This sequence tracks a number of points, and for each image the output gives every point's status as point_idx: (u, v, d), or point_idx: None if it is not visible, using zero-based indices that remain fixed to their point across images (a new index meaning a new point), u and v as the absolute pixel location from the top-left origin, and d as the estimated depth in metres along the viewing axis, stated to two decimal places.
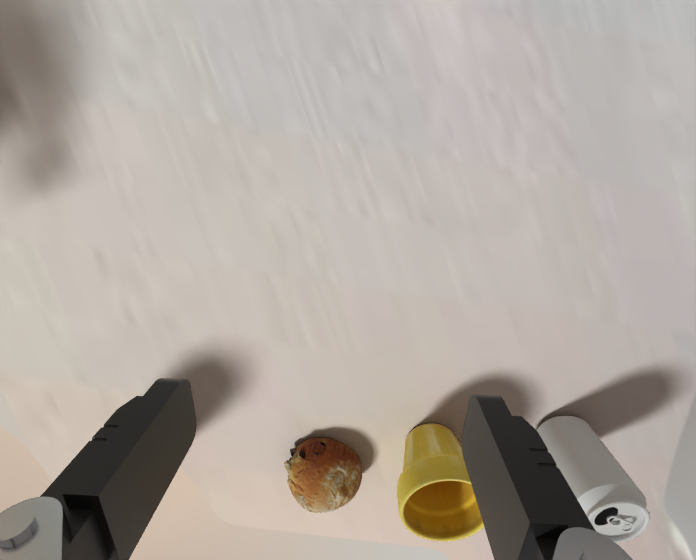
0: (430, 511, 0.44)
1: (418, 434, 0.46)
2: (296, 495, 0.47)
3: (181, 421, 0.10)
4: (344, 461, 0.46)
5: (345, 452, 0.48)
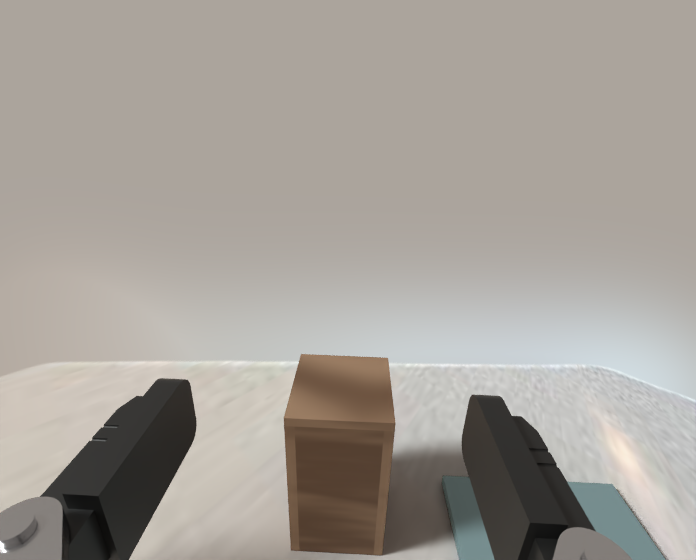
0: None
1: None
2: None
3: (181, 420, 0.10)
4: None
5: None
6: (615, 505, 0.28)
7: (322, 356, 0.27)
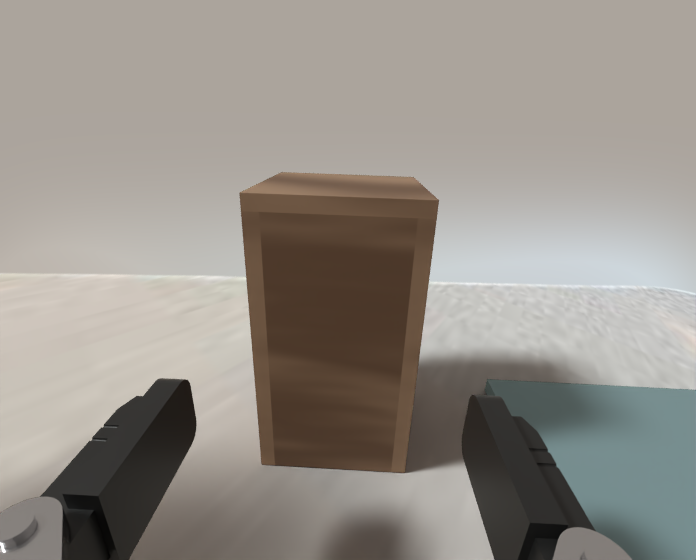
0: None
1: None
2: None
3: (181, 421, 0.10)
4: None
5: None
6: None
7: (313, 174, 0.17)
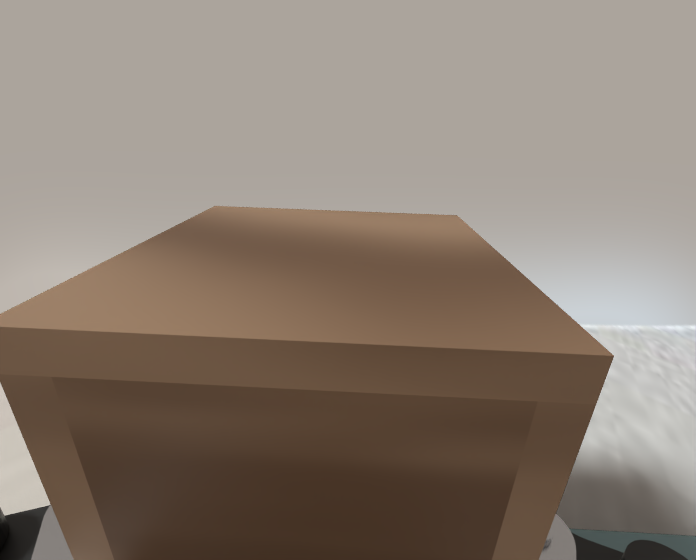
0: None
1: None
2: None
3: None
4: None
5: None
6: None
7: (273, 210, 0.09)
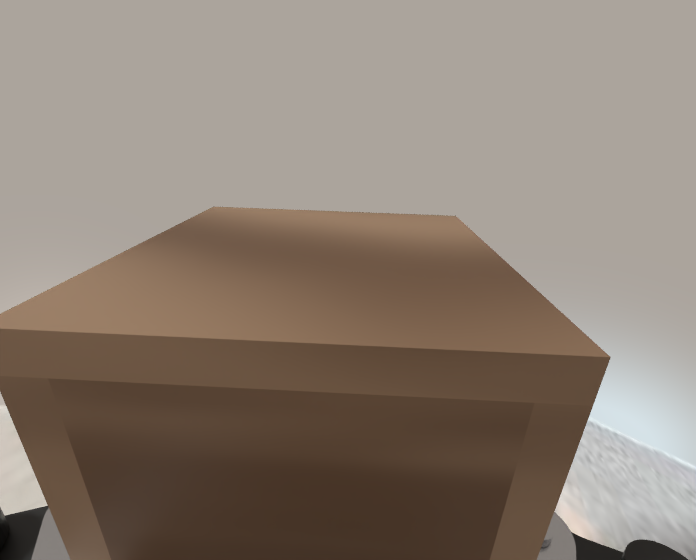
0: None
1: None
2: None
3: None
4: None
5: None
6: None
7: (271, 210, 0.09)
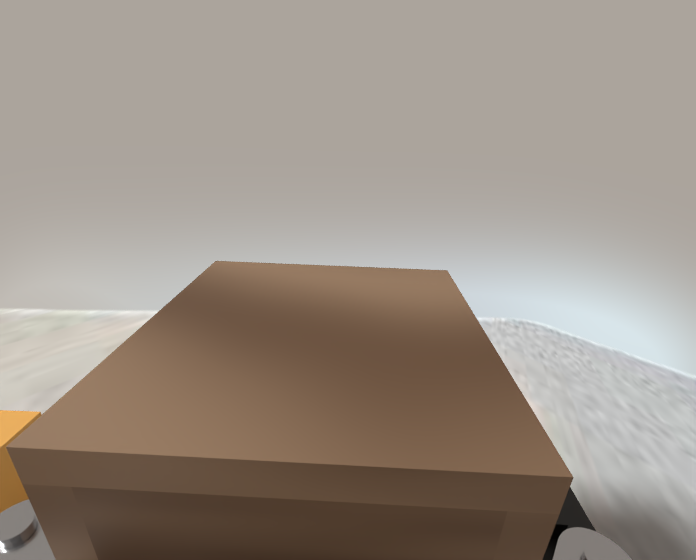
0: None
1: None
2: None
3: None
4: None
5: None
6: None
7: (271, 265, 0.10)
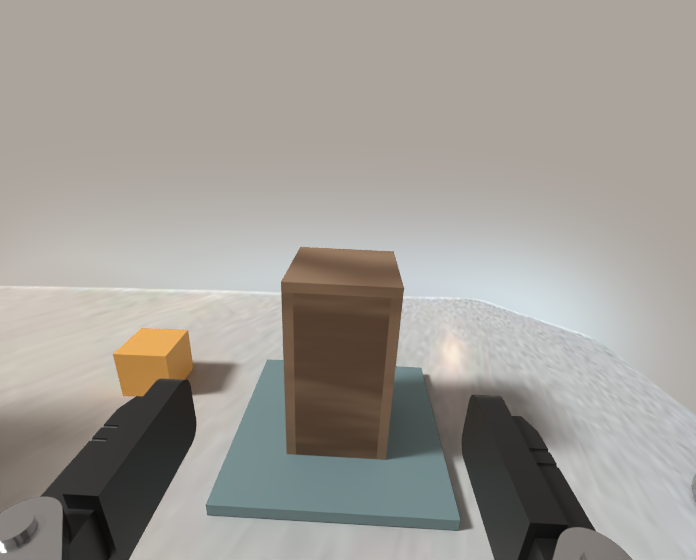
0: None
1: None
2: None
3: (180, 421, 0.10)
4: None
5: None
6: (413, 380, 0.31)
7: (323, 249, 0.25)
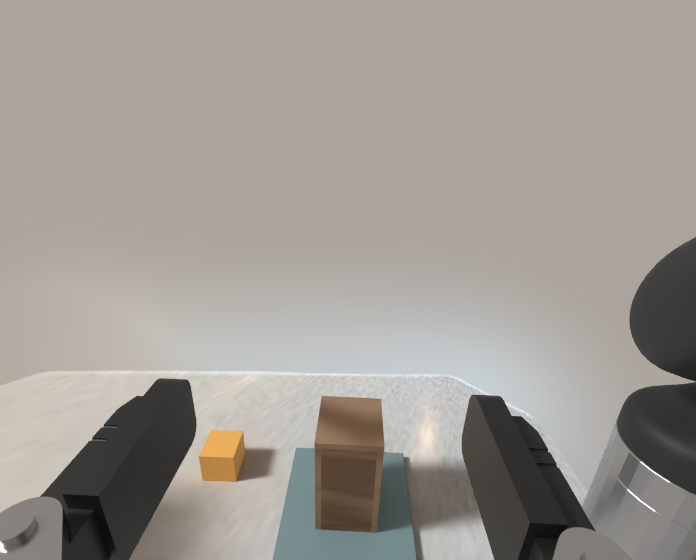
0: None
1: None
2: None
3: (180, 420, 0.10)
4: None
5: None
6: (397, 465, 0.45)
7: (336, 397, 0.39)
